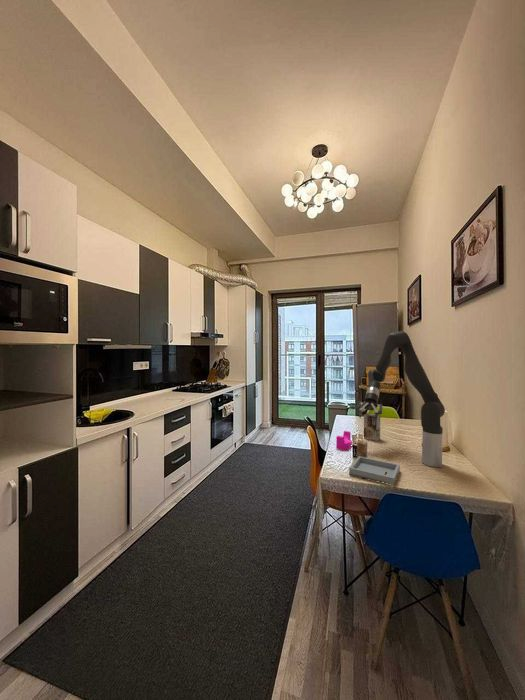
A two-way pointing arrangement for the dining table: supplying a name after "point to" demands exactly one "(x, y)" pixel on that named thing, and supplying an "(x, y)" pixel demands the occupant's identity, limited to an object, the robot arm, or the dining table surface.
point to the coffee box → (371, 427)
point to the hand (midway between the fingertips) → (367, 418)
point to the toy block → (344, 441)
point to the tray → (375, 470)
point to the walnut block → (362, 449)
